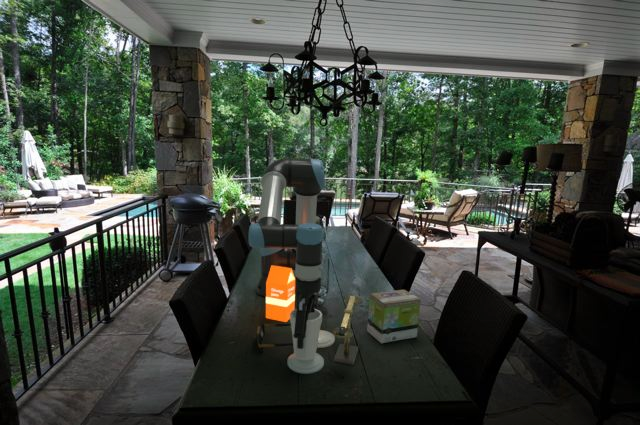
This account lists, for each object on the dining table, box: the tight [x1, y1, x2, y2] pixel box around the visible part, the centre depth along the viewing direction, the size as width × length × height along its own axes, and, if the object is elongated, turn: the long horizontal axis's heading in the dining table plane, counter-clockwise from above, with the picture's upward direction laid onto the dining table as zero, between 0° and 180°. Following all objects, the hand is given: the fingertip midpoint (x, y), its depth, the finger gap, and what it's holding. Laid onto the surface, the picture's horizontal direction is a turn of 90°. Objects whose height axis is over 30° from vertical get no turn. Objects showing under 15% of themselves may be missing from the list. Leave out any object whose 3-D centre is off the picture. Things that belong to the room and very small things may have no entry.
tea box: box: [366, 289, 421, 344], centre depth 128 cm, size 15×10×15 cm
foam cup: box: [289, 308, 323, 360], centre depth 108 cm, size 10×9×13 cm
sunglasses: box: [256, 322, 293, 353], centre depth 121 cm, size 14×15×5 cm
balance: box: [332, 295, 363, 365], centre depth 113 cm, size 22×6×17 cm, turn 165°
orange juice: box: [265, 265, 296, 323], centre depth 139 cm, size 8×9×20 cm
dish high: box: [317, 329, 336, 349], centre depth 124 cm, size 11×11×1 cm
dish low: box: [286, 352, 325, 375], centre depth 109 cm, size 11×11×1 cm
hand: (306, 348), depth 109 cm, fingers closed on foam cup, 9 cm apart
